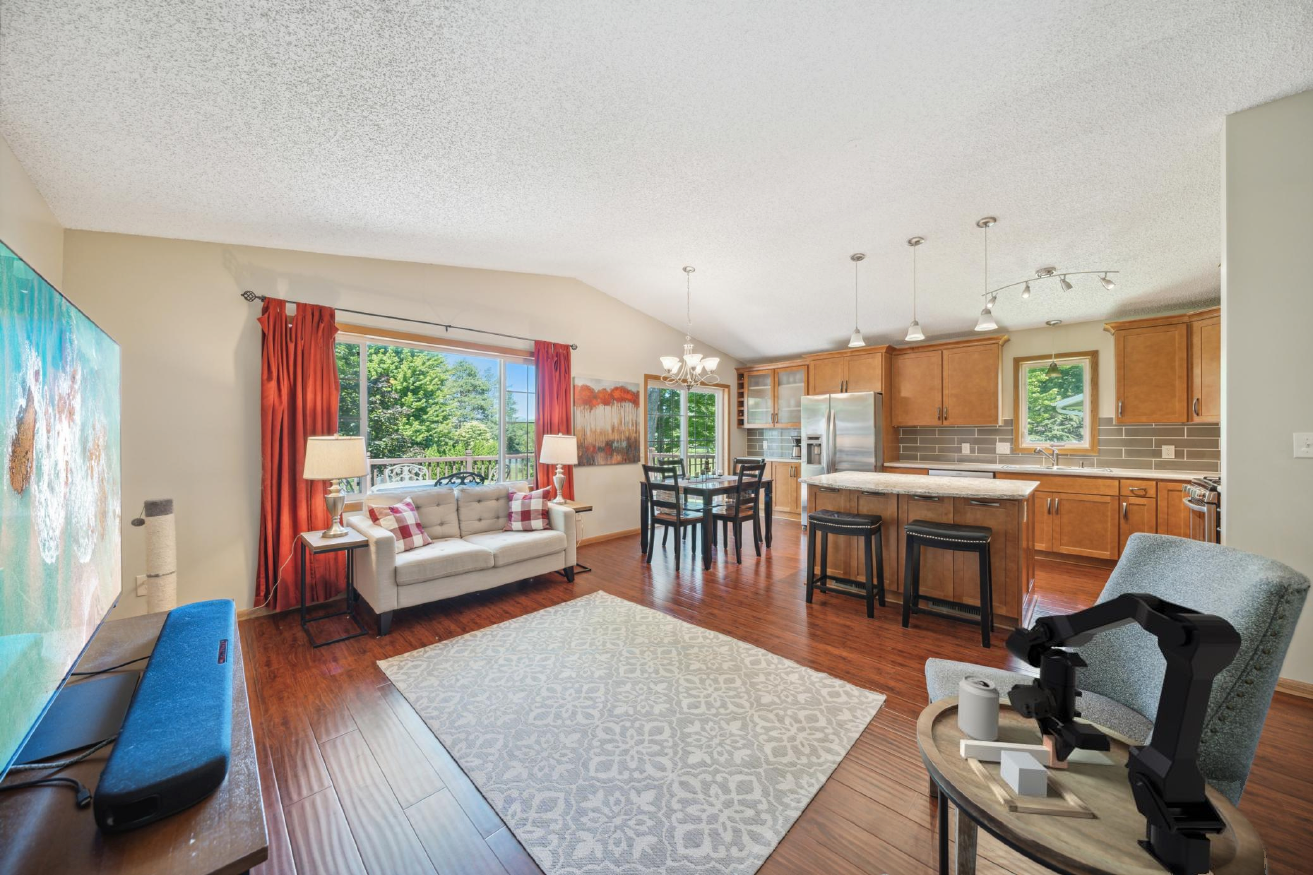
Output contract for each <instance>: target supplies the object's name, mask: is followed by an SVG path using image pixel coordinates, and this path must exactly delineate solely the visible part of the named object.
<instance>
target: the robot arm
mask: <svg viewBox="0 0 1313 875" xmlns="http://www.w3.org/2000/svg"><path fill="white" fill-rule="evenodd" d="M1034 623H1035V624H1034V625H1033V626H1032V627H1031V628H1030V629H1029V628H1026V627H1024V626H1015V627H1014V632H1012V633H1010V635H1008V637H1007V638H1006V640H1005V644H1004V645H1005V649H1006V650H1007V653H1008V654H1010V655H1011V656H1013V657H1014V658H1017V659H1018V660H1020V661H1021V662H1023V663H1026V664H1027V665H1029V667H1030V666H1031V667H1033V668H1035V669H1039V677H1033V679H1032V682H1031V683H1032V684H1024V683H1023V684H1021V683H1015V684H1014V685H1012V686H1011V687H1010V688H1011V689H1010V690H1009V691H1007V693H1006V694H1007V697H1008V701H1009V702H1010V707H1011V708H1012V710H1014V711H1016V712H1017V713H1018V714H1019V715H1020V717H1022V718H1023V719H1027V720H1030V719H1034V720H1035V721H1036V724H1037V727H1038V729H1039V733H1041V735H1042V739H1043V735H1054V736H1055V749H1056V758H1057V761H1059V762H1064V761H1065V760H1066V759H1067V757H1068V756H1069V755H1070V754H1071V753H1072V752H1073V750H1074V749H1075V748H1078V749H1081V750H1094V751H1099V752H1108V753H1110V752H1111V751H1112V748H1111V747H1112V740H1111V738H1110V737H1109V736H1108V735H1107V734H1105V733H1104V732H1103V731H1102V730H1100V729H1099V728H1097V727H1096V726H1094V725H1093V724H1092V723H1085V722H1084V723H1083V722H1080V721H1078V720H1075V718H1077V719H1081V718H1082V712H1081V711H1080V710H1078V709H1077V708H1076V707H1077V706H1076V705H1077V703H1076V702H1077V698H1078V697H1079V698H1082V697H1083V691H1081V690H1080V689H1078V688H1077V680H1078V679H1077V678H1078V677H1077V676H1078V668H1079V669H1080V668H1081V669H1082V668H1083V669H1084V668H1088V667H1089V664H1088V663H1087V661H1086V660H1084V659H1083V658H1082V656H1080V654H1079V652H1077V651H1076V652H1073V651H1071V652H1070V651H1067V650H1064V649H1063V648H1069V649H1071V648H1072V649H1073V648H1074V649H1075V648H1082V647H1084V646H1086V645H1087V644H1089V643H1091V642H1092V641H1093V639H1094V637H1095V636H1096V635H1098V634H1102V633H1104V632H1107V631H1111V630H1113V629H1117V628H1121V627H1124V626H1127V625H1131V624H1133V623H1137V624H1138V625H1139V626H1140V628H1142V630H1144V631H1146V632H1147V633H1150V634H1151V635H1153V636H1155V637H1157V647H1158V649H1159V651H1160V653H1161V654H1162V656H1163V658H1164V660H1165V662H1166V667H1165V670H1164V677H1163V681H1162V685H1161V690H1160V696H1159V699H1158V700H1159V701H1158V704H1157V710H1156V714H1155V720H1154V724H1153V729H1152V733H1151V739H1150V742H1149V743H1148V745H1139V744H1138V745H1136V744H1135V745H1133V744H1131V745H1130V746H1129V749H1128V759H1127V762H1126V763H1125V764H1124V768H1126V769H1127V779H1128V782H1129V784H1130V788H1131V791H1132V796H1133V799H1134V802H1135V806H1136V810H1137V812H1138V813H1139V814H1141V816H1142V817H1144V819H1146V829H1145V830H1146V831H1145V838H1146V839H1137V841H1136V842H1137V845H1138V846H1139V847H1141V849H1142V850H1144V851H1145V852H1146V853H1147V854H1148V855H1149V856H1151V858H1153V859H1154V860H1155V861H1156V862H1157V863H1158V864H1159V865H1160V866H1162V868H1164V869H1165V870H1166V871H1167V872H1168V873H1169V872H1170V873H1171V874H1170V873H1169V874H1170V875H1172V874H1173V875H1198V874H1207V873H1209V870H1211V869H1210V868H1211V866H1210V865H1211V862H1210V861H1211V839H1210V837H1207V835H1220V836H1221V835H1222V834H1224V831H1225V830H1226V829H1227V824H1226V822H1225V821H1224V819H1223V818H1222V817H1221V815H1220V814H1219V812H1218V810H1217V809H1216V807H1215V806H1214V805H1213V803H1212V802H1211V800H1210V798H1209V797H1208V796H1207V793H1206V779H1205V776H1204V774H1203V773H1202V771H1201V769H1200V767H1199V765H1198V764H1197V757H1198V756H1197V755H1198V751H1199V746H1200V744H1201V743H1200V742H1201V738H1202V734H1203V729H1204V725H1205V720H1206V715H1207V711H1208V708H1209V702H1210V697H1211V693H1212V689H1213V684H1214V680H1215V678H1216V677H1217V676H1218V675H1220V674H1221V672H1223V671H1225V669H1226V668H1228V667H1230V665H1231V664H1232V663H1233V662H1234V660H1235V658H1236V657H1237V654H1238V653H1239V650H1240V648H1241V646H1242V636H1241V634H1240V632H1238V631H1237V630H1236V628H1235V627H1234V625H1233V624H1231V623H1230V621H1228V620H1227V619H1226V618H1223V617H1221V616H1219V615H1216V614H1214V613H1213V614H1211V613H1210V614H1209V613H1208V614H1207V613H1204V612H1201V611H1199V610H1196V609H1194V608H1191V607H1187V606H1185V605H1180V604H1178V603H1175V602H1171V601H1168V600H1165V599H1163V598H1161V597H1159V596H1156V595H1153V594H1152V593H1148V592H1124V593H1121V594H1119V595H1118V596H1117V597H1114V598H1112V599H1109V600H1107V601H1104V602H1101V603H1097V604H1095V605H1092V606H1090V607H1086V608H1084V609H1081V610H1079V611H1076V612H1073V613H1069V614H1055V615H1045V616H1039V617H1037V618H1036V619H1035V620H1034ZM1042 739H1041V740H1042Z"/></svg>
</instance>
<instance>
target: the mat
mask: <svg viewBox="0 0 1313 875" xmlns="http://www.w3.org/2000/svg"><path fill="white" fill-rule="evenodd" d="M1035 735H1036V736H1037V737H1039V739H1040V740H1042V741H1043V739H1042V735H1041V732H1036V733H1035ZM1068 762H1069V763H1079V764H1093V765H1106V766H1107V765H1108V766H1115V763H1114V762H1113V761H1112V760H1111V759H1110V758H1108V757H1107V756H1105V755H1104V754H1103V753H1101V751H1094V750H1081V749H1078V748H1075V749H1074V750H1073V752H1072V753H1071V754H1070V755H1069V756H1068V761H1067V763H1068Z"/></svg>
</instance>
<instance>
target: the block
mask: <svg viewBox="0 0 1313 875" xmlns="http://www.w3.org/2000/svg"><path fill="white" fill-rule="evenodd" d="M1045 768H1046V767H1045V766H1044V765H1041V764H1040V763H1039V762H1038V761H1037V760H1036V759H1035V758H1034V757H1033V756H1031V755H1030V754H1029V753H1028V752H1015V751H1003V750H1001V762H1000V776H1001V778H1002V779H1003V780H1004V781H1005V782H1006V784H1008V785H1009V786H1010V787H1011V789H1012V790H1013V791H1014V792H1015V793H1016V794H1017V795H1019V796H1020V795H1021V796H1031V797H1040V798H1041V797H1043V798H1047V796H1048V795H1047V794H1048V793H1047V792H1048V783H1047V770H1048V769H1047V768H1046V769H1045Z"/></svg>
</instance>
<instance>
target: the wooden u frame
mask: <svg viewBox="0 0 1313 875" xmlns="http://www.w3.org/2000/svg"><path fill="white" fill-rule="evenodd" d="M967 764H968V765H969V766H970V767H971V769H972V770H973V771H974V773H976V774H977V776H978V777H979V778H980V780H982V781H983V783H984V784H985V785H986V786H987V787H988V788H989V790H990V791H991V792H992V793H993V794H994V796H996V798H997V799H998V800H999V801H1000V803H1001V804H1002V805H1003V806H1004V807H1005V808H1006V809H1007V811H1008V810H1009V811H1008V812H1014V813H1015V812H1016V813H1025V814H1039V815H1048V816H1050V815H1052V816H1062V817H1074V818H1083V819H1085V818H1086V819H1094V812H1093V811H1092V810H1091V809H1090V808H1089V807H1088V806H1087V805H1086V804H1084V802H1082V800H1080V799H1079V798H1078V796H1076V795H1075V794H1074V793H1073V792H1072V791H1071V790H1069V789H1068V788H1067V787H1066V786H1065V785H1064V784H1063V783H1062V782H1061V781H1060V780H1059V779H1058V778H1056V776H1055V775H1053V774H1052V773H1051V771H1049V770H1048V769H1047V768H1046V767H1044V768H1045V769H1047V785H1048V784H1049V785H1050V787H1052V789H1054V790H1055V791H1056V792H1057V793H1058V794H1059V795H1060V796H1061V797H1062V798H1063V799H1064V800H1065V801H1066V802H1067V803H1068V804H1066V803H1065V804H1064V803H1053V802H1043V801H1030V800H1020V799H1019V800H1018V799H1012V798H1011V797H1010V796H1009V794H1008V793H1007V792H1006V791H1005V789H1003V788H1002V786H1001V785H1000V784H999V783H998V782H997V781H996V779H995V778H993V777H992V775H991V774H990V773H989V772H988V770H986V768H984V766H983V765H982V764H981V763H980V761H979V760H976V759H975V758H968V759H967Z"/></svg>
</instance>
